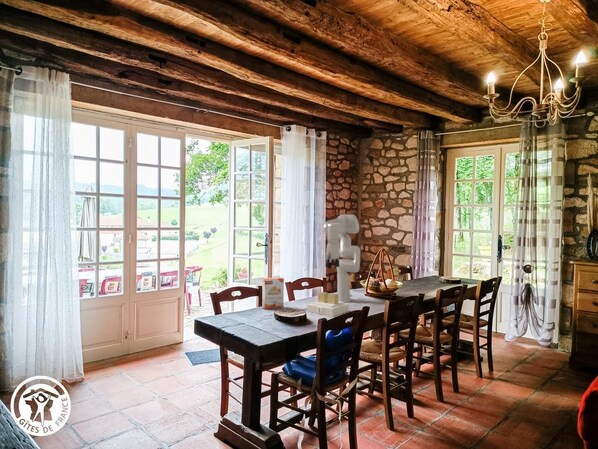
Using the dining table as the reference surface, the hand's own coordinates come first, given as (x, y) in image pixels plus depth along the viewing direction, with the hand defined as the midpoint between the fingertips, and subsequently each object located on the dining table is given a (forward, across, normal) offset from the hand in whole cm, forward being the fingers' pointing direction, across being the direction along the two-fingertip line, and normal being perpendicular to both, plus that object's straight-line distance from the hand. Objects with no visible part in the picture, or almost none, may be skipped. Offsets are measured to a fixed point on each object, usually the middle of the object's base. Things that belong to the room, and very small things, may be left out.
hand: (333, 267), depth 274 cm
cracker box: (+30, +16, -39) cm, 52 cm away
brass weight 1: (+24, +1, -7) cm, 25 cm away
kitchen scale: (+30, +2, -3) cm, 30 cm away
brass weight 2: (+24, +1, +1) cm, 24 cm away
